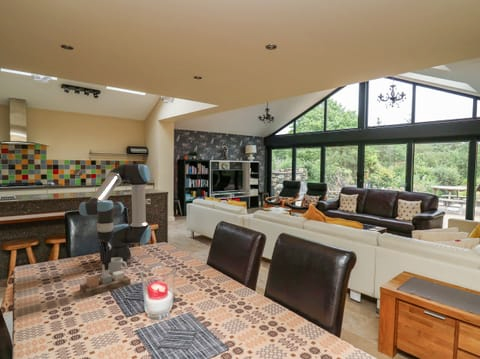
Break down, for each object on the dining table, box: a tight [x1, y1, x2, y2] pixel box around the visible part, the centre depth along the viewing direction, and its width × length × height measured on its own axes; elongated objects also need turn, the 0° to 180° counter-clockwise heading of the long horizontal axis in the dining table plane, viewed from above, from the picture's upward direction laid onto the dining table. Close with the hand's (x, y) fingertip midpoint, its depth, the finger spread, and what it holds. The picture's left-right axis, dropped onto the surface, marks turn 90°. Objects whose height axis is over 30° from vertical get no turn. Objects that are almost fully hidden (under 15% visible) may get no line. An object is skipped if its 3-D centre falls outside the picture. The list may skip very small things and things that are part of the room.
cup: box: [109, 257, 127, 275], centre depth 169 cm, size 11×8×8 cm
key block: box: [79, 274, 132, 298], centre depth 149 cm, size 21×11×3 cm, turn 136°
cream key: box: [111, 270, 125, 281], centre depth 154 cm, size 4×4×4 cm
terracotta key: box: [85, 274, 100, 288], centre depth 144 cm, size 4×4×4 cm
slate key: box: [99, 273, 112, 285], centre depth 149 cm, size 4×4×4 cm
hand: (105, 275), depth 149 cm, fingers closed
